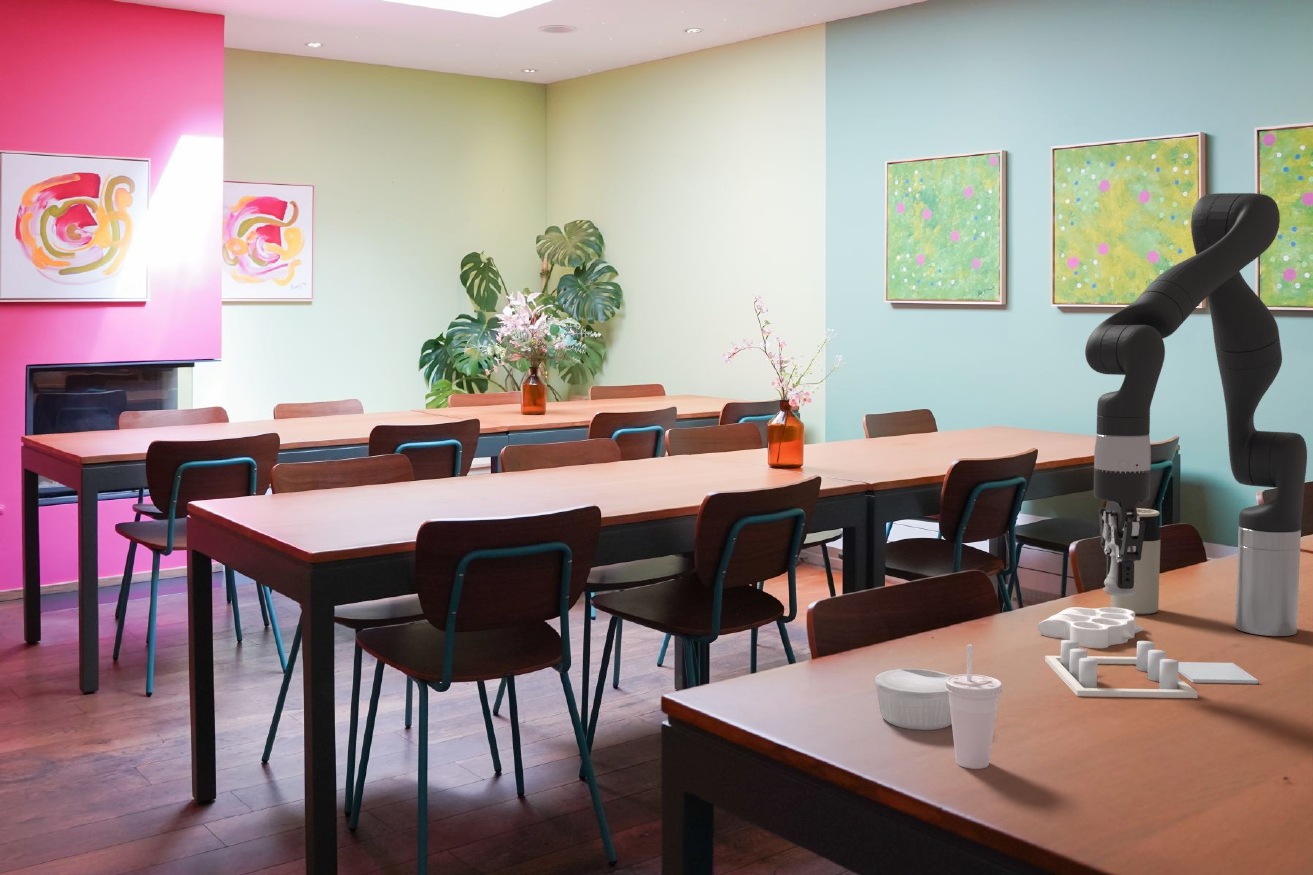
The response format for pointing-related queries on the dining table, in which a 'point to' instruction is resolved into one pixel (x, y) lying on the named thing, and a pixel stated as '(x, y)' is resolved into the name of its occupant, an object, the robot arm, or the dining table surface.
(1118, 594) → the rook chess piece
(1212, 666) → the tile
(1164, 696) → the frame
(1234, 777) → the dining table surface
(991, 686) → the smoothie
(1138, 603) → the travel mug
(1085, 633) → the white holed part
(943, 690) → the ramekin
